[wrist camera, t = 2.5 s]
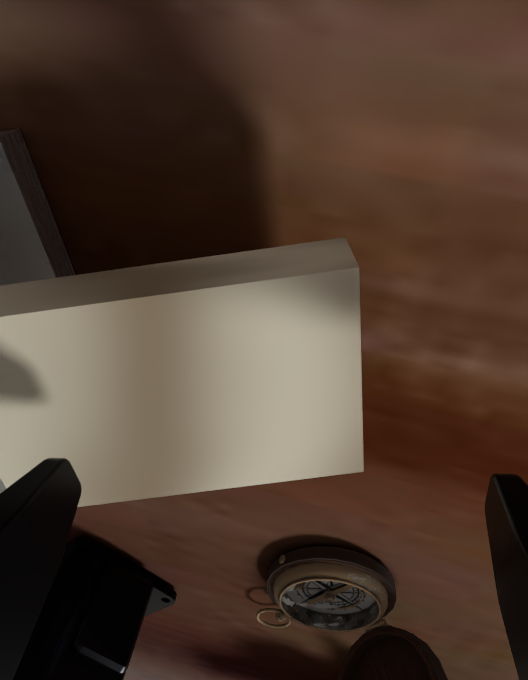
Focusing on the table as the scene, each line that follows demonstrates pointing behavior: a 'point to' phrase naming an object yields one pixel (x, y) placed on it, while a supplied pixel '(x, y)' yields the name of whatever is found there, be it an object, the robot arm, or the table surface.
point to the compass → (349, 611)
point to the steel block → (2, 486)
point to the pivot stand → (26, 219)
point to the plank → (186, 373)
